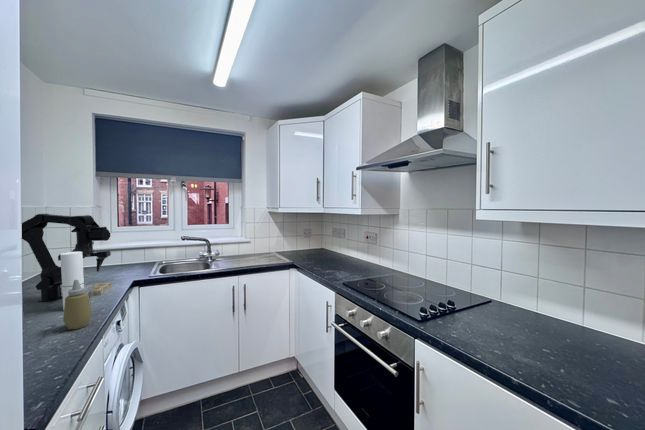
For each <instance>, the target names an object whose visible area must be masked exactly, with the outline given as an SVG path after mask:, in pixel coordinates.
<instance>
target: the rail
mask: <svg viewBox="0 0 645 430" xmlns="http://www.w3.org/2000/svg"><path fill="white" fill-rule="evenodd" d="M93 285H94V290H93V296H99V295H102V294H104V293H105V292H106V291H108V290H109V289H111V288H113V282H112V281H111V282H108V281H107V282H100V283H99V282H97V283H95V284H93Z"/></svg>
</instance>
